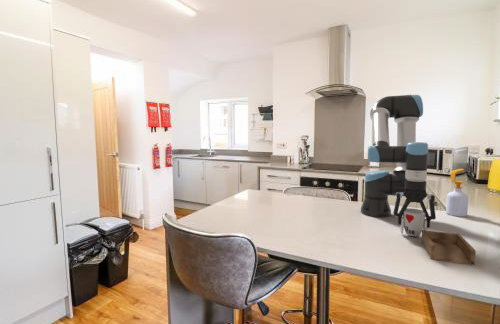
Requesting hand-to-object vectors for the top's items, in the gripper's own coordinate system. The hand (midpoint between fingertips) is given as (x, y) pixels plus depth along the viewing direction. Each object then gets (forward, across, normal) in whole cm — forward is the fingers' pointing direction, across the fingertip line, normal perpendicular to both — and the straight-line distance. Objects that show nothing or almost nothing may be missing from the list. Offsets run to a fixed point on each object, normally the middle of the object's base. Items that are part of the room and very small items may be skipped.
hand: (412, 233), depth 113 cm
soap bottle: (+2, +27, +46) cm, 53 cm away
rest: (+1, +8, -14) cm, 17 cm away
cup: (0, 0, 0) cm, 0 cm away
